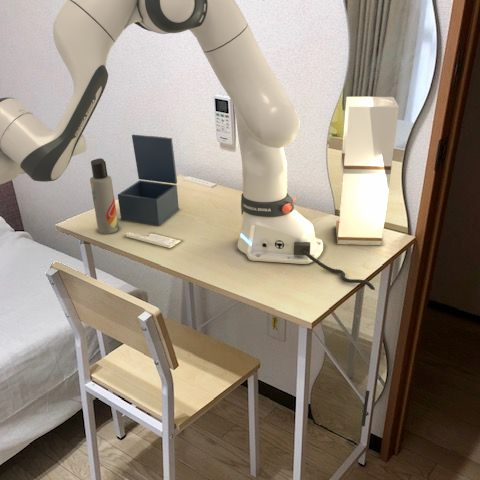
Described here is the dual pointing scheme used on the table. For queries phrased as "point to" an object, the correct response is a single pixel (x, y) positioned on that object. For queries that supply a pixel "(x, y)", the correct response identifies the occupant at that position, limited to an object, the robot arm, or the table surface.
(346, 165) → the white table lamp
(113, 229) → the lotion bottle
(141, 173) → the lid
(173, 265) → the table surface
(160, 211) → the chest
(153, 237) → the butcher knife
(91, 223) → the table surface
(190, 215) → the table surface
